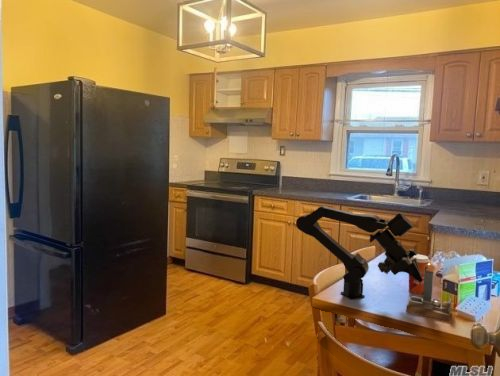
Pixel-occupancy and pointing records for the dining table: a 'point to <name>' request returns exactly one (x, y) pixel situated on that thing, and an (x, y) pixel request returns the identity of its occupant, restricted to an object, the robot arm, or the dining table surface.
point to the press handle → (429, 286)
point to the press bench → (429, 308)
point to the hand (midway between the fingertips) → (421, 281)
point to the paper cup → (415, 284)
